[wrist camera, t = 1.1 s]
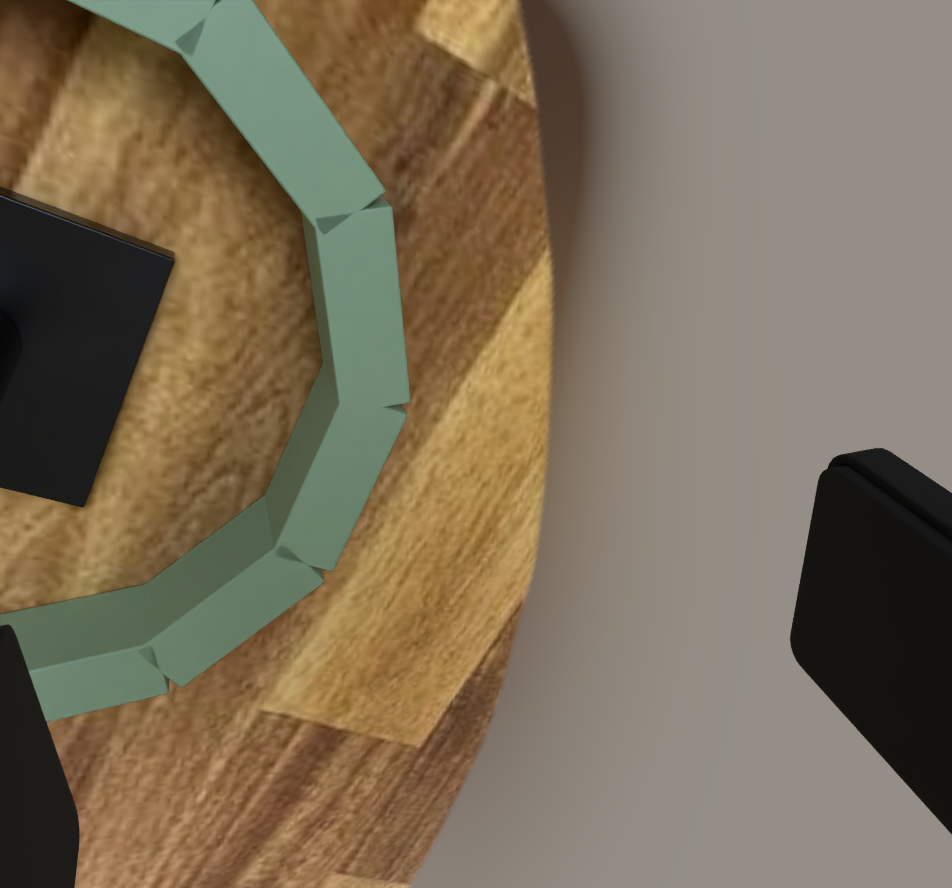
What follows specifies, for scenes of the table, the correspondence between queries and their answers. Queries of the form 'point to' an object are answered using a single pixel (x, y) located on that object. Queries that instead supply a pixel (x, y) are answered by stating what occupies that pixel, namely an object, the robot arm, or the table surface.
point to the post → (67, 341)
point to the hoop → (322, 418)
